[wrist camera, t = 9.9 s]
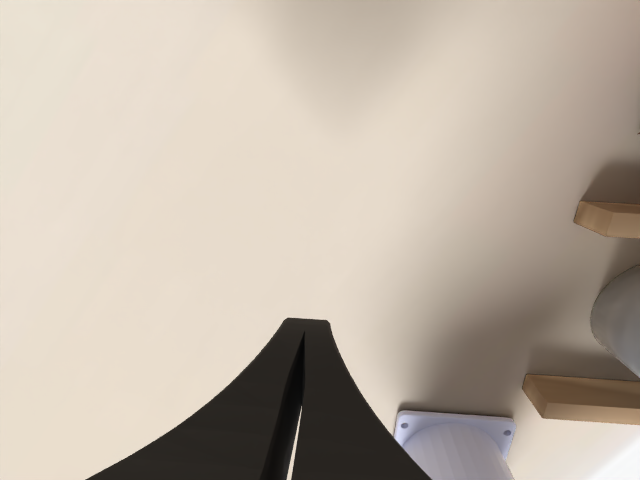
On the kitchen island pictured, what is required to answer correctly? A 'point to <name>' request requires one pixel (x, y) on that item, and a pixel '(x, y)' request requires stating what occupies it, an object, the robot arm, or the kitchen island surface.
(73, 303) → the kitchen island surface
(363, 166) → the kitchen island surface
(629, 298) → the grey round dome
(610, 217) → the wooden tray
